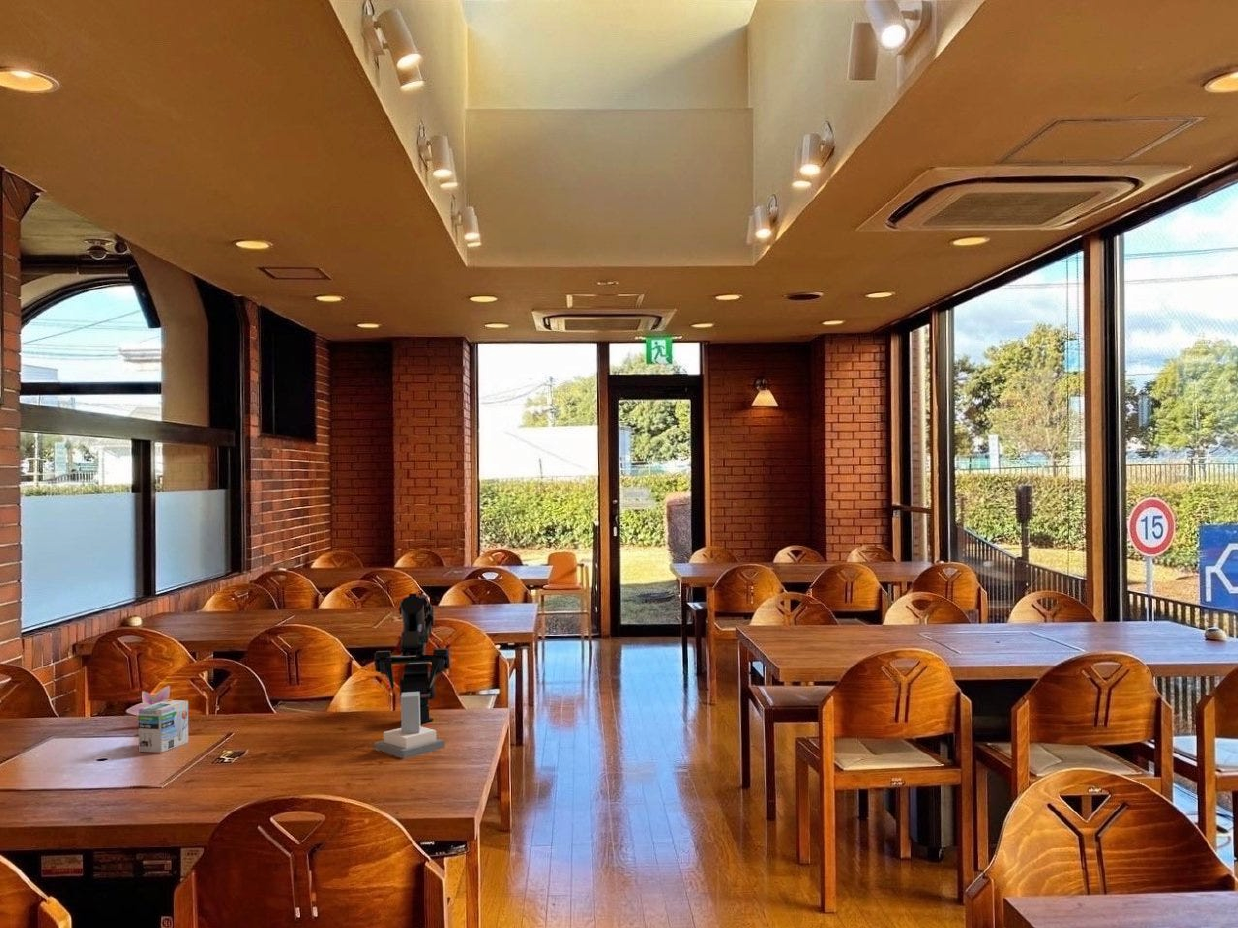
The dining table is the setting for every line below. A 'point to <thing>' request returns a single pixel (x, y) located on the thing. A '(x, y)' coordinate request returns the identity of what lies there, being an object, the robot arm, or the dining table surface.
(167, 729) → the light bulb box
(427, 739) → the off-white top slab
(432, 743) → the square tray
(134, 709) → the lily
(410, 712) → the slate block
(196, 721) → the dining table surface
